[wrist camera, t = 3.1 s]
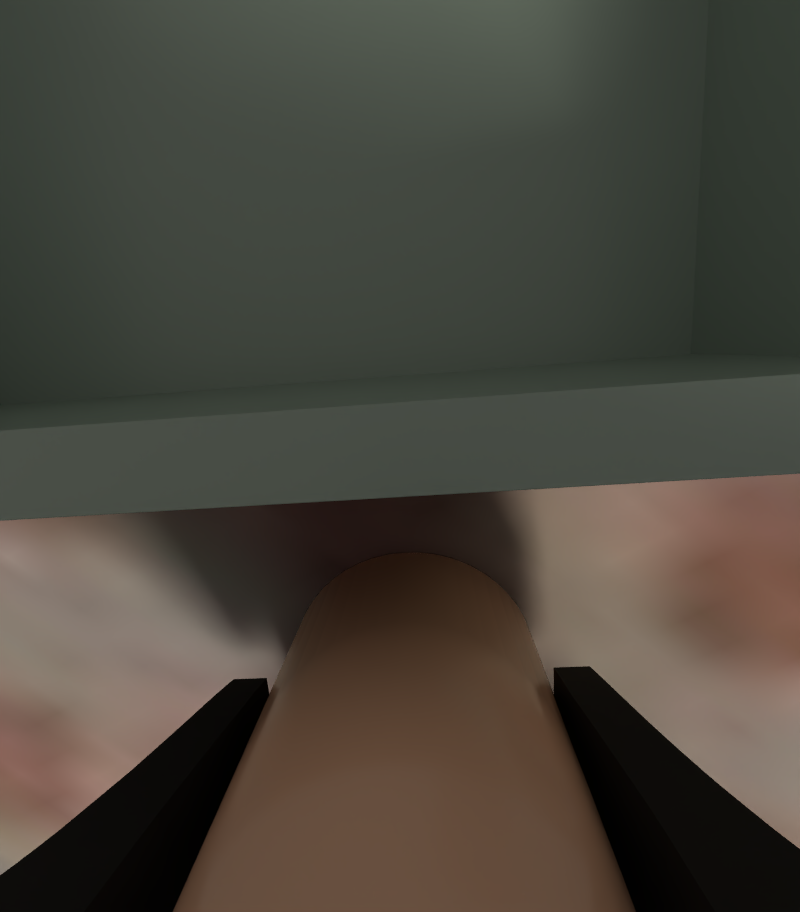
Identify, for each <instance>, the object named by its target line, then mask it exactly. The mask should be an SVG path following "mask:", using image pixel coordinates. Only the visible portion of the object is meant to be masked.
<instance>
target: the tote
mask: <svg viewBox="0 0 800 912" xmlns="http://www.w3.org/2000/svg"><path fill="white" fill-rule="evenodd" d="M799 473H800V0H0V521H1V520H18V519H35V518H52V517H69V516H86V515H103V514H120V513H137V512H154V511H171V510H188V509H205V508H222V507H239V506H256V505H273V504H290V503H307V502H324V501H341V500H358V499H375V498H392V497H409V496H426V495H443V494H460V493H476V492H493V491H510V490H527V489H544V488H561V487H578V486H595V485H612V484H629V483H646V482H663V481H680V480H697V479H714V478H731V477H748V476H765V475H782V474H799Z"/></svg>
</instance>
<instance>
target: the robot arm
mask: <svg viewBox="0 0 800 912" xmlns="http://www.w3.org/2000/svg"><path fill="white" fill-rule="evenodd" d="M554 696H555V699H556V702H557V704H558V707H559V710H560V712H561V715H562V718H563V720H564V723H565V725H566V728H567V731H568V733H569V736H570V739H571V741H572V744H573V746H574V749H575V752H576V754H577V757H578V760H579V762H580V765H581V768H582V770H583V773H584V775H585V778H586V781H587V783H588V786H589V789H590V791H591V794H592V796H593V799H594V802H595V804H596V807H597V810H598V812H599V815H600V818H601V820H602V823H603V825H604V828H605V831H606V833H607V836H608V839H609V841H610V844H611V846H612V849H613V852H614V854H615V857H616V860H617V862H618V865H619V868H620V870H621V873H622V875H623V878H624V881H625V883H626V886H627V889H628V891H629V894H630V896H631V899H632V902H633V904H634V907H635V910H636V912H800V849H799V848H798V847H796V846H795V845H794V844H792V843H791V842H790V841H788V840H787V839H786V838H785V837H783V836H782V835H781V834H779V833H778V832H777V831H775V830H774V829H773V828H772V827H770V826H769V825H768V824H767V823H765V822H764V821H763V820H762V819H761V818H759V817H758V816H757V815H756V814H754V813H753V812H752V811H751V810H749V809H748V808H747V807H746V806H745V805H743V804H742V803H741V802H740V801H738V800H737V799H736V798H735V797H733V796H732V795H731V794H730V793H729V792H727V791H726V790H725V789H724V788H722V787H721V786H720V785H719V784H718V783H716V782H715V781H714V780H713V779H712V778H711V777H709V776H708V775H707V774H706V773H705V772H704V771H702V770H701V769H700V768H699V767H698V766H697V765H696V764H695V763H693V762H692V761H691V760H690V759H689V758H688V757H687V756H686V755H684V754H683V753H682V752H681V751H680V750H679V749H678V748H677V747H675V746H674V745H673V744H672V743H671V742H670V741H669V740H667V739H666V738H665V737H664V736H663V735H662V734H661V733H660V732H659V731H658V730H657V729H655V728H654V727H653V726H652V725H651V724H650V723H649V722H648V721H647V720H646V719H645V718H644V717H643V716H642V715H641V714H639V713H638V712H637V711H636V710H635V709H634V708H633V707H632V706H631V705H630V704H629V703H628V702H627V701H626V700H625V699H624V698H623V697H621V696H620V695H619V694H618V693H617V692H616V691H615V690H614V689H613V688H612V687H611V686H610V685H609V684H608V683H607V682H606V681H605V680H604V679H603V678H602V677H600V676H599V675H598V674H597V673H596V672H595V671H594V670H593V669H592V668H591V667H590V666H587V667H559V668H554ZM268 697H269V690H268V684H267V678H257V679H234V680H233V681H231V682H230V683H229V684H228V685H226V686H225V687H224V688H223V689H222V690H221V691H219V692H218V693H217V694H216V695H215V696H214V697H213V698H212V699H210V700H209V701H208V702H207V703H206V704H205V705H204V706H203V707H202V708H201V709H199V710H198V711H197V712H196V713H195V714H194V715H193V716H192V717H191V718H190V719H188V720H187V721H186V722H185V723H184V724H183V725H182V726H181V727H180V728H179V729H177V730H176V731H175V732H174V733H173V734H172V735H171V736H170V737H168V738H167V739H166V740H165V741H164V742H163V743H162V744H161V745H159V746H158V747H157V748H156V749H155V750H154V751H153V752H152V753H150V754H149V755H148V756H147V757H146V758H145V759H144V760H143V761H142V762H140V763H139V764H138V765H137V766H136V767H135V768H134V769H132V770H131V771H130V772H129V773H128V774H127V775H125V776H124V777H123V778H122V779H121V780H119V781H118V782H117V783H116V784H115V785H113V786H112V787H111V788H110V789H109V790H107V791H106V792H105V793H104V794H103V795H101V796H100V797H99V798H98V799H97V800H95V801H94V802H93V803H92V804H90V805H89V806H88V807H87V808H86V809H84V810H83V811H82V812H81V813H80V814H78V815H77V816H76V817H75V818H74V819H72V820H71V821H70V822H69V823H68V824H66V825H65V826H64V827H63V828H62V829H60V830H59V831H58V832H57V833H55V834H54V835H53V836H51V837H50V838H49V839H48V840H46V841H45V842H44V843H43V844H41V845H40V846H39V847H37V848H36V849H35V850H33V851H32V852H31V853H30V854H28V855H27V856H26V857H24V858H23V859H22V860H20V861H19V862H18V863H16V864H15V865H14V866H12V867H11V868H10V869H8V870H7V871H6V872H4V873H3V874H1V875H0V912H173V910H174V908H175V906H176V903H177V901H178V899H179V897H180V894H181V892H182V890H183V888H184V885H185V883H186V881H187V879H188V876H189V874H190V872H191V870H192V867H193V865H194V863H195V861H196V858H197V856H198V854H199V852H200V849H201V847H202V845H203V843H204V840H205V838H206V836H207V834H208V831H209V829H210V827H211V825H212V822H213V820H214V818H215V816H216V813H217V811H218V809H219V807H220V804H221V802H222V800H223V798H224V795H225V793H226V791H227V789H228V786H229V784H230V782H231V780H232V777H233V775H234V773H235V771H236V768H237V766H238V764H239V762H240V759H241V757H242V755H243V753H244V750H245V748H246V746H247V744H248V741H249V739H250V737H251V735H252V732H253V730H254V728H255V726H256V723H257V721H258V719H259V717H260V714H261V712H262V710H263V708H264V705H265V703H266V701H267V699H268Z"/></svg>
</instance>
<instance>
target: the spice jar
mask: <svg viewBox="0 0 800 912" xmlns="http://www.w3.org/2000/svg"><path fill="white" fill-rule="evenodd" d="M173 912H636V910H635V907H634V904H633V902H632V899H631V896H630V894H629V891H628V889H627V886H626V883H625V881H624V878H623V875H622V873H621V870H620V868H619V865H618V862H617V860H616V857H615V854H614V852H613V849H612V846H611V844H610V841H609V839H608V836H607V833H606V831H605V828H604V825H603V823H602V820H601V818H600V815H599V812H598V810H597V807H596V804H595V802H594V799H593V796H592V794H591V791H590V789H589V786H588V783H587V781H586V778H585V775H584V773H583V770H582V768H581V765H580V762H579V760H578V757H577V754H576V752H575V749H574V746H573V744H572V741H571V739H570V736H569V733H568V731H567V728H566V725H565V723H564V720H563V718H562V715H561V712H560V710H559V707H558V704H557V702H556V699H555V696H554V694H553V691H552V689H551V686H550V683H549V681H548V678H547V675H546V673H545V670H544V668H543V665H542V662H541V660H540V657H539V654H538V652H537V649H536V646H535V644H534V641H533V639H532V636H531V633H530V631H529V628H528V626H527V623H526V621H525V619H524V617H523V615H522V613H521V611H520V610H519V608H518V606H517V605H516V603H515V602H514V601H513V600H512V598H511V597H510V596H509V595H508V593H507V592H506V591H505V590H504V589H503V588H501V587H500V586H499V585H498V584H497V583H496V582H495V581H494V580H492V579H491V578H490V577H488V576H487V575H485V574H484V573H483V572H481V571H479V570H477V569H475V568H473V567H472V566H470V565H468V564H465V563H463V562H460V561H458V560H455V559H452V558H448V557H444V556H440V555H435V554H428V553H396V554H388V555H384V556H380V557H376V558H372V559H369V560H367V561H364V562H362V563H359V564H357V565H355V566H353V567H351V568H349V569H348V570H346V571H344V572H343V573H341V574H340V575H338V576H337V577H336V578H334V579H333V580H332V581H331V582H330V583H328V584H327V585H326V586H325V587H324V588H323V589H322V590H321V591H320V593H319V594H318V595H317V596H316V598H315V599H314V600H313V602H312V603H311V605H310V607H309V608H308V610H307V612H306V614H305V616H304V618H303V620H302V622H301V625H300V627H299V629H298V631H297V634H296V636H295V638H294V640H293V643H292V645H291V647H290V649H289V652H288V654H287V656H286V658H285V661H284V663H283V665H282V667H281V670H280V672H279V674H278V676H277V679H276V681H275V683H274V685H273V688H272V690H271V692H270V694H269V697H268V699H267V701H266V703H265V705H264V708H263V710H262V712H261V714H260V717H259V719H258V721H257V723H256V726H255V728H254V730H253V732H252V735H251V737H250V739H249V741H248V744H247V746H246V748H245V750H244V753H243V755H242V757H241V759H240V762H239V764H238V766H237V768H236V771H235V773H234V775H233V777H232V780H231V782H230V784H229V786H228V789H227V791H226V793H225V795H224V798H223V800H222V802H221V804H220V807H219V809H218V811H217V813H216V816H215V818H214V820H213V822H212V825H211V827H210V829H209V831H208V834H207V836H206V838H205V840H204V843H203V845H202V847H201V849H200V852H199V854H198V856H197V858H196V861H195V863H194V865H193V867H192V870H191V872H190V874H189V876H188V879H187V881H186V883H185V885H184V888H183V890H182V892H181V894H180V897H179V899H178V901H177V903H176V906H175V908H174V910H173Z"/></svg>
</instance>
